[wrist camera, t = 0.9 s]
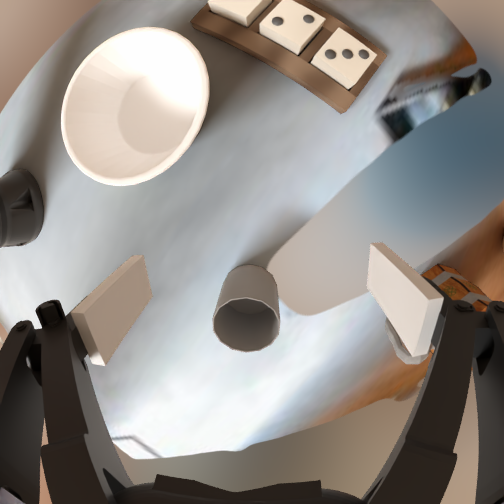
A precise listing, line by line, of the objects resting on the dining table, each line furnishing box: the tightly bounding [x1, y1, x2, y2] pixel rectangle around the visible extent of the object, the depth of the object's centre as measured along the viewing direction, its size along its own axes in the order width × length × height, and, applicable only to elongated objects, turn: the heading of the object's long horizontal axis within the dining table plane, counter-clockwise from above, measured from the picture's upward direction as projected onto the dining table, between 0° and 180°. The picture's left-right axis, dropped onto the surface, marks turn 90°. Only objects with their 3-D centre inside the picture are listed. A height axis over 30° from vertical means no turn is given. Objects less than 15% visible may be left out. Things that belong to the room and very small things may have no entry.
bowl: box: [61, 27, 210, 186], centre depth 29 cm, size 19×19×11 cm
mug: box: [385, 264, 492, 371], centre depth 35 cm, size 20×14×15 cm
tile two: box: [259, 0, 325, 56], centre depth 26 cm, size 6×6×4 cm
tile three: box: [310, 28, 377, 90], centre depth 27 cm, size 6×6×4 cm
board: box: [190, 0, 387, 114], centre depth 28 cm, size 25×12×2 cm, turn 56°
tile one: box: [208, 0, 272, 28], centre depth 25 cm, size 6×6×4 cm
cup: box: [213, 264, 280, 352], centre depth 38 cm, size 8×8×10 cm
